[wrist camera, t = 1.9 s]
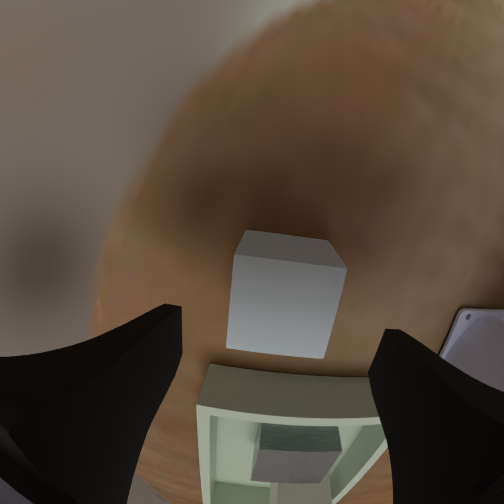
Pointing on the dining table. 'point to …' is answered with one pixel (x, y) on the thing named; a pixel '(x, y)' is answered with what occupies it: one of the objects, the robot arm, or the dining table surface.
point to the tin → (294, 453)
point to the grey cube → (284, 294)
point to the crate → (280, 412)
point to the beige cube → (301, 492)
